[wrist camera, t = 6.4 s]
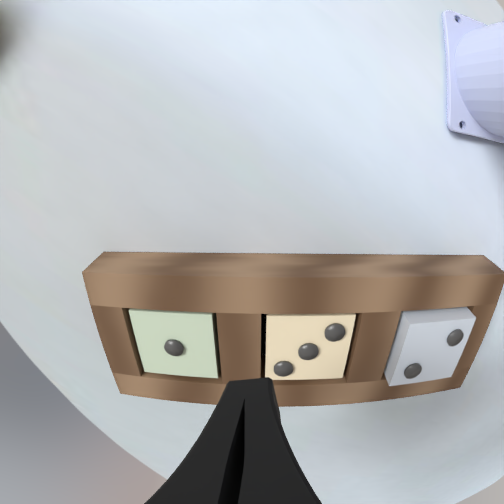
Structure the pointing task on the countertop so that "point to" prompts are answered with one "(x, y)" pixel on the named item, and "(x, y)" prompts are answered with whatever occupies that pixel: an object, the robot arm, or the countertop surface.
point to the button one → (177, 342)
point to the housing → (286, 302)
